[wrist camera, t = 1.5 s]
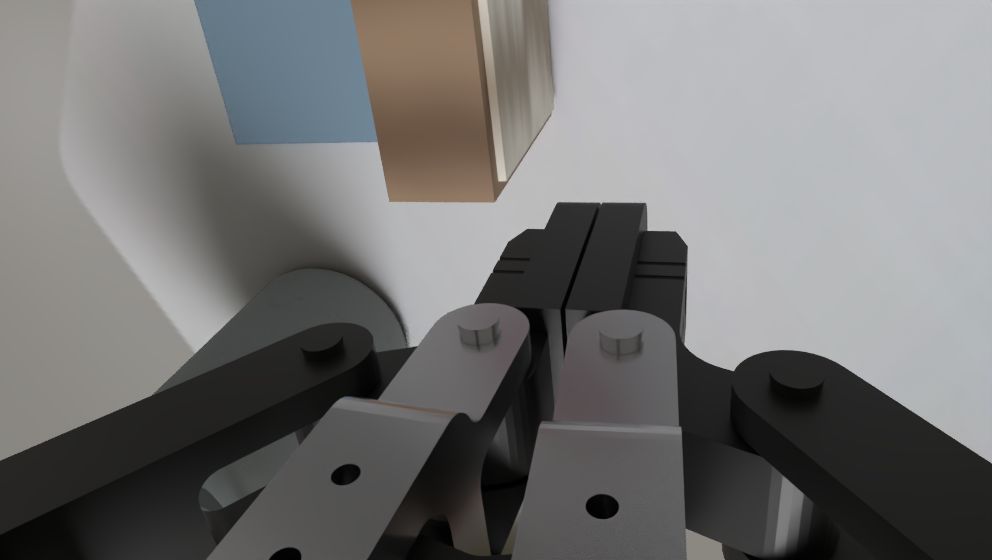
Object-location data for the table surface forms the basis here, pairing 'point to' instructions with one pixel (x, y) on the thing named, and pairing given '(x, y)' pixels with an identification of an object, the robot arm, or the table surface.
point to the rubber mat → (289, 70)
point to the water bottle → (269, 320)
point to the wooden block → (454, 92)
